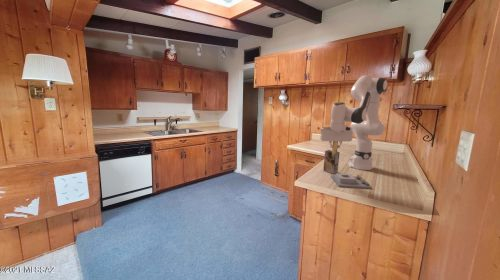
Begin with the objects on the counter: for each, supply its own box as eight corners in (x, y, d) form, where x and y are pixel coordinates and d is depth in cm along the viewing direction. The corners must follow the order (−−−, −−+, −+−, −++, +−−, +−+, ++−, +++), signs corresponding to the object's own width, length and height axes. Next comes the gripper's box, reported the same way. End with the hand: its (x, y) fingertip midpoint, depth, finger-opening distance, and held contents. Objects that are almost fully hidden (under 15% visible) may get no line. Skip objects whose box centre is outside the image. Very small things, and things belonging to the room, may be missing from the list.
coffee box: (338, 172, 160) (340, 152, 157) (333, 174, 156) (336, 153, 153) (327, 169, 167) (329, 149, 164) (322, 170, 163) (324, 150, 160)
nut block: (330, 176, 150) (331, 171, 149) (359, 178, 148) (360, 172, 147) (338, 186, 132) (339, 180, 131) (371, 188, 130) (372, 182, 129)
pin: (331, 155, 143) (332, 137, 141) (336, 155, 143) (337, 138, 141) (332, 156, 140) (334, 138, 138) (337, 156, 140) (339, 138, 138)
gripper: (322, 127, 135) (320, 148, 138) (354, 128, 134) (352, 149, 137) (319, 126, 141) (318, 146, 144) (350, 126, 141) (348, 146, 143)
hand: (335, 147), depth 141 cm, fingers closed on pin, 3 cm apart
